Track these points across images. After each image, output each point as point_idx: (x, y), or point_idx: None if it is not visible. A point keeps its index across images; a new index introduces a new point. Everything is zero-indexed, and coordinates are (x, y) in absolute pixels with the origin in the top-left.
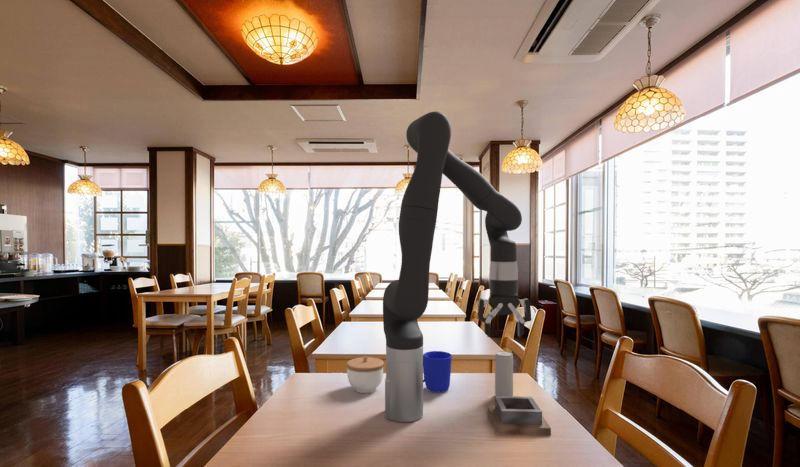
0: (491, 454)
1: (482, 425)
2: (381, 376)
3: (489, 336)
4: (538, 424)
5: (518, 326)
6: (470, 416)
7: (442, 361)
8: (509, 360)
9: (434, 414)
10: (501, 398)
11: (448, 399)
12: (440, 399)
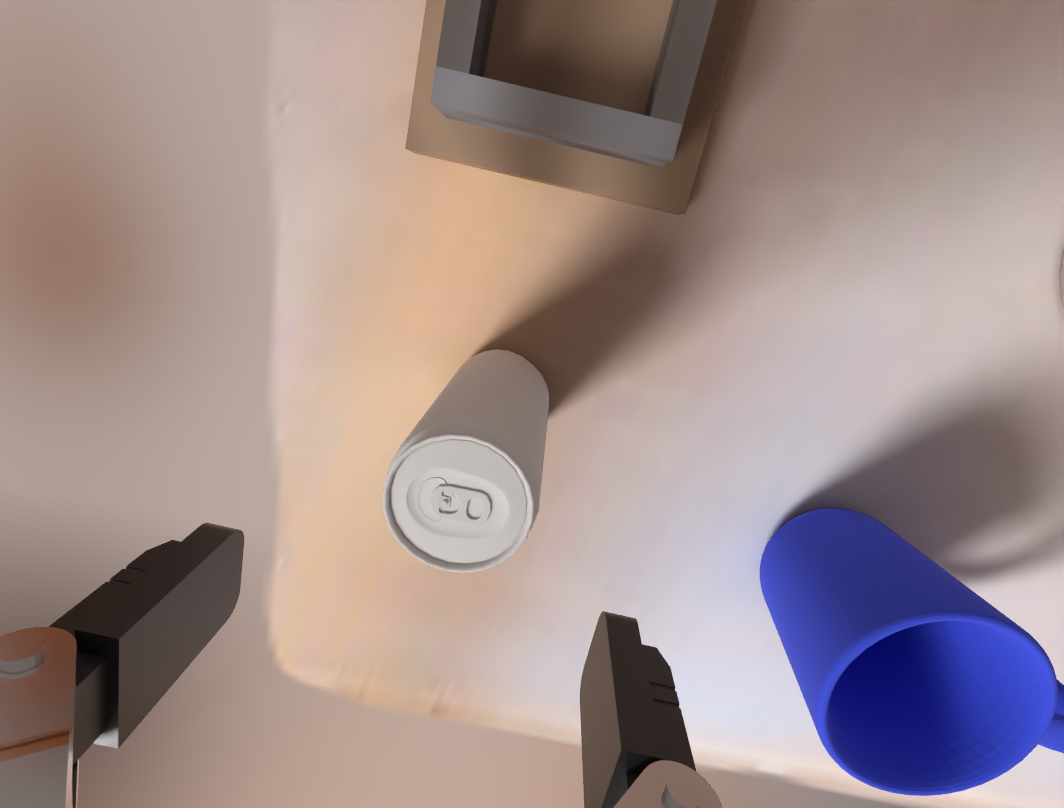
0: None
1: (796, 28)
2: None
3: (614, 614)
4: None
5: (157, 650)
6: (806, 166)
7: (938, 599)
8: (445, 416)
9: (996, 229)
10: (644, 117)
11: (822, 417)
12: (866, 425)
